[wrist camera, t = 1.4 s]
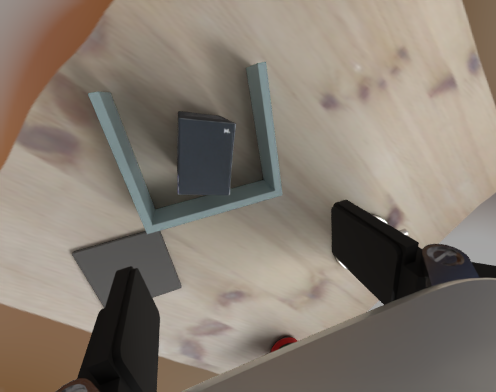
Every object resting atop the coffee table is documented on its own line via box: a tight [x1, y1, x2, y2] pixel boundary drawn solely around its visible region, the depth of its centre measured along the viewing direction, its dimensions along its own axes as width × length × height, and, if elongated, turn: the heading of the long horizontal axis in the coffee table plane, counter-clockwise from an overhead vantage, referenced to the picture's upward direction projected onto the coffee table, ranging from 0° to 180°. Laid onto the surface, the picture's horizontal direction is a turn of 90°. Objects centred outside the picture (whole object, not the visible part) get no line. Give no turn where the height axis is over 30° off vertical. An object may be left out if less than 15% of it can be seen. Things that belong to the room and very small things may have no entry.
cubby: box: [88, 62, 282, 234], centre depth 31 cm, size 19×17×5 cm
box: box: [177, 111, 236, 196], centre depth 29 cm, size 8×6×11 cm
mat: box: [72, 231, 181, 308], centre depth 37 cm, size 12×12×1 cm
